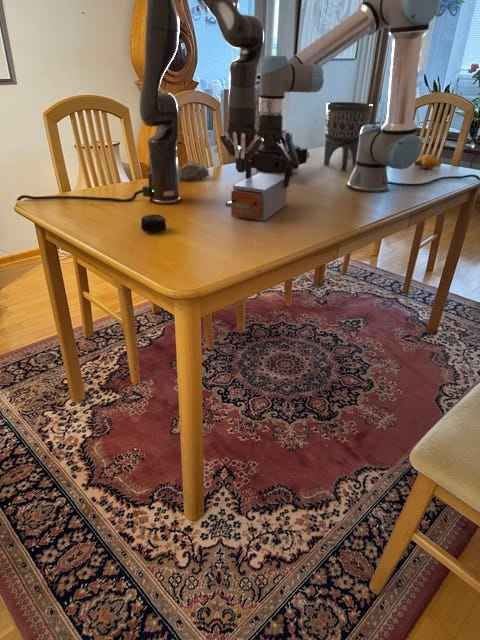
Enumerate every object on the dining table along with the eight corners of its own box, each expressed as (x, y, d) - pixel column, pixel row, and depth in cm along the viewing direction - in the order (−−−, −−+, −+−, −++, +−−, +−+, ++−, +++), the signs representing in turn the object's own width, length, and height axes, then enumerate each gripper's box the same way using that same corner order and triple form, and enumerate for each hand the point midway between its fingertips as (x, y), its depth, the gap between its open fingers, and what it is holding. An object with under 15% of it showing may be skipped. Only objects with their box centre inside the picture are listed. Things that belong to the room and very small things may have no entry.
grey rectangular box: (263, 220, 139) (265, 189, 134) (232, 215, 143) (233, 185, 138) (285, 205, 155) (287, 176, 150) (257, 200, 158) (258, 172, 154)
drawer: (251, 224, 133) (251, 199, 129) (222, 220, 136) (222, 195, 132) (280, 204, 151) (282, 181, 148) (254, 200, 155) (255, 178, 151)
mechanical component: (240, 120, 182) (283, 115, 202) (239, 174, 192) (280, 164, 212) (283, 126, 170) (325, 120, 190) (280, 183, 180) (320, 171, 200)
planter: (313, 167, 208) (319, 103, 195) (331, 160, 222) (338, 101, 209) (353, 173, 199) (362, 107, 185) (369, 166, 213) (379, 104, 199)
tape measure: (141, 234, 126) (140, 221, 124) (142, 226, 132) (141, 214, 130) (166, 233, 127) (165, 220, 125) (166, 225, 133) (165, 213, 131)
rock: (201, 174, 190) (201, 158, 187) (214, 178, 185) (214, 162, 181) (174, 179, 183) (173, 162, 179) (187, 183, 177) (186, 166, 174)
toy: (415, 162, 205) (409, 155, 218) (417, 175, 208) (411, 168, 221) (441, 154, 202) (433, 147, 215) (443, 168, 205) (435, 160, 218)
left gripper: (214, 104, 120) (214, 171, 129) (259, 107, 115) (257, 177, 124) (226, 102, 126) (226, 167, 135) (270, 105, 121) (267, 172, 130)
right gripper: (229, 111, 140) (228, 181, 151) (306, 117, 131) (299, 191, 142) (239, 109, 146) (237, 177, 157) (313, 115, 137) (306, 186, 148)
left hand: (241, 171), depth 129 cm, fingers closed
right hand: (266, 184), depth 149 cm, fingers open, 13 cm apart
